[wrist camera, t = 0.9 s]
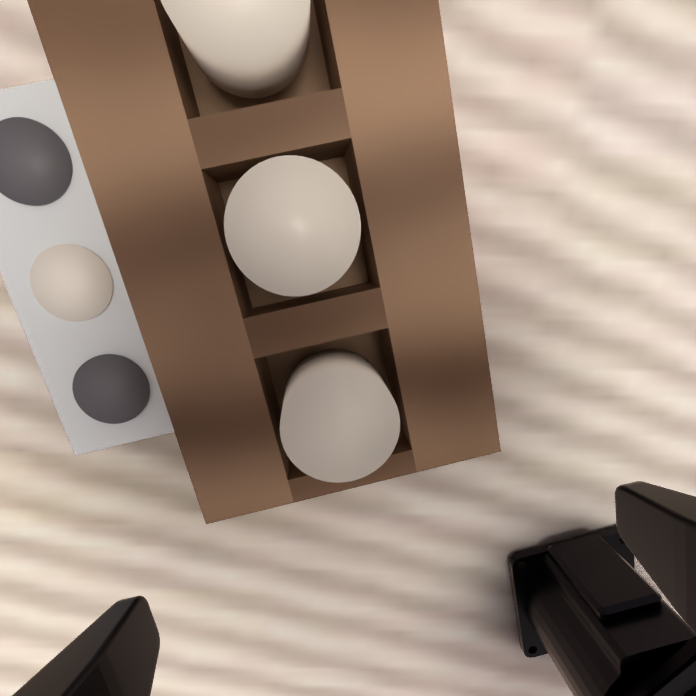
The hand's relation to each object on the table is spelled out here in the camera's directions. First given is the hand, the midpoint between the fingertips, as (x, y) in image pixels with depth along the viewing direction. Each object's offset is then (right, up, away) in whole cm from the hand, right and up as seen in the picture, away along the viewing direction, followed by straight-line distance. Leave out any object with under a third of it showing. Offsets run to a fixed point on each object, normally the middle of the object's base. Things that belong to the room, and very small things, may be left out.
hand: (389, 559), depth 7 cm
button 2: (-1, +2, +10) cm, 10 cm away
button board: (-3, +8, +10) cm, 13 cm away
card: (-12, +6, +10) cm, 16 cm away
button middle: (-3, +8, +8) cm, 12 cm away
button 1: (-4, +14, +6) cm, 16 cm away
